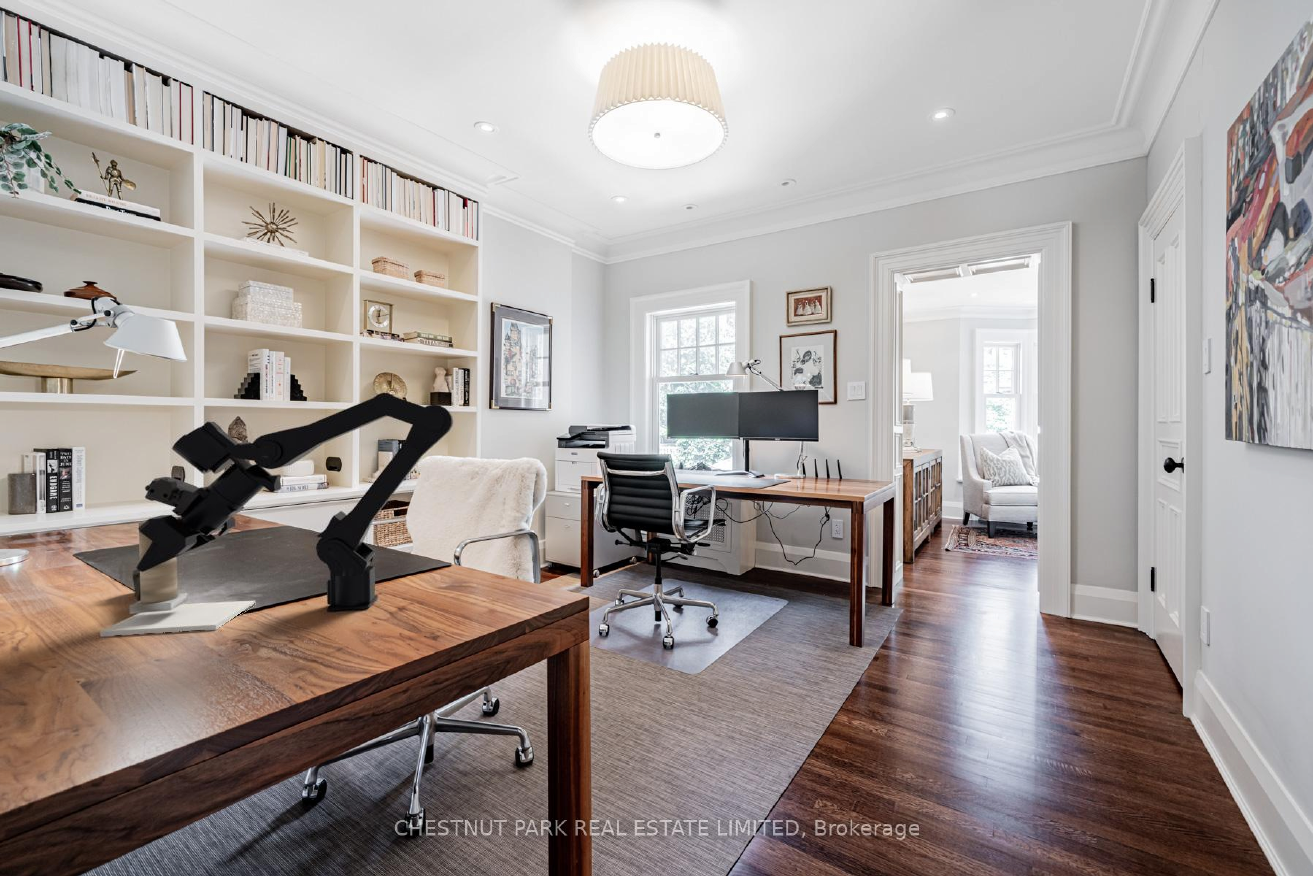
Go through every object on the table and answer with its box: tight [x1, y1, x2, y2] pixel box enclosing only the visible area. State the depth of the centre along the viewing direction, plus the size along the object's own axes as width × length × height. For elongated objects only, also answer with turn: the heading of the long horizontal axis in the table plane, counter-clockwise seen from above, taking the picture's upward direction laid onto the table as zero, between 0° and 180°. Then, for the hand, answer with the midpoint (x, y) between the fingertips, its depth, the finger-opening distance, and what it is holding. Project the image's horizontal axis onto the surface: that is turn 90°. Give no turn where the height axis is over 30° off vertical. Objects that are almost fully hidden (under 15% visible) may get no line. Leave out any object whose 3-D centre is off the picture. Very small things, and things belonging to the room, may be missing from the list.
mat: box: [99, 600, 256, 638], centre depth 91 cm, size 15×12×1 cm
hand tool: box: [132, 568, 141, 602], centre depth 99 cm, size 19×4×5 cm, turn 45°
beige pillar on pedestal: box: [129, 520, 188, 614], centre depth 90 cm, size 5×5×14 cm
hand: (148, 566), depth 89 cm, fingers closed on beige pillar on pedestal, 4 cm apart
